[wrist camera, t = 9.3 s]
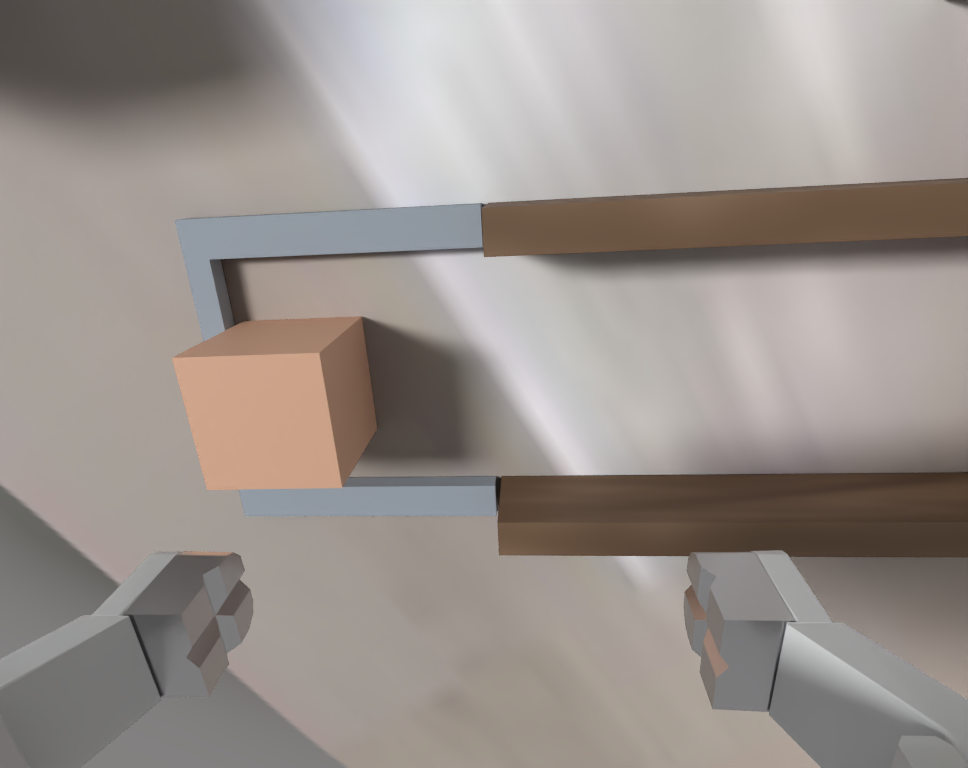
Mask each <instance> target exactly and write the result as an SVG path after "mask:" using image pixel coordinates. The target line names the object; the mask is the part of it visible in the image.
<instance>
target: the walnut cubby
mask: <svg viewBox="0 0 968 768" xmlns="http://www.w3.org/2000/svg"><path fill="white" fill-rule="evenodd" d="M481 209H482V228H483V248H484V257H496V256H519V255H542V254H565V253H588V252H611V251H634V250H658V249H681V248H704V247H727V246H750V245H773V244H796V243H819V242H842V241H865V240H888V239H911V238H935V237H958V236H968V178H959V179H940V180H920V181H901V182H882V183H863V184H843V185H824V186H805V187H786V188H766V189H747V190H728V191H709V192H689V193H670V194H651V195H632V196H612V197H593V198H574V199H555V200H535V201H516V202H497V203H488V204H486V205H485V206H483V207H482V208H481ZM498 540H499V555H562V556H690V553H691V552H751V551H773V550H782V551H783V552H785V553H787V554H788V556H790V557H968V473H849V474H727V475H605V476H502V478H501V490H500V501H499V513H498Z"/></svg>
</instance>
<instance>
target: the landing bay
mask: <svg viewBox="0 0 968 768" xmlns="http://www.w3.org/2000/svg"><path fill="white" fill-rule="evenodd" d="M481 208H482V203H477V204H458V205H439V206H420V207H400V208H381V209H362V210H343V211H323V212H304V213H285V214H266V215H246V216H227V217H208V218H189V219H180V220H175V223H176V227H177V232H178V236H179V240H180V244H181V248H182V253H183V257H184V261H185V265H186V270H187V274H188V278H189V282H190V286H191V291H192V295H193V299H194V303H195V307H196V312H197V316H198V320H199V324H200V328H201V333H202V337H203V341H206V340H208V339H210V338H212V337H214V336H216V335H218V334H220V333H222V332H224V331H225V330H227V329H229V328H231V327H233V326H235V324H234V319H233V314H232V310H231V305H230V300H229V296H228V291H227V286H226V282H225V277H224V273H223V268H222V263H221V259H233V258H256V257H278V256H300V255H323V254H345V253H367V252H389V251H412V250H434V249H456V248H479V247H483V228H482V209H481ZM239 493H240V497H241V501H242V505H243V509H244V514H245V516H497V506H498V505H497V486H496V476H484V477H362V478H348V479H347V481H346V482H345V484H344V486H343V488H313V489H239Z"/></svg>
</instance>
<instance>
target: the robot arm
mask: <svg viewBox="0 0 968 768" xmlns="http://www.w3.org/2000/svg"><path fill="white" fill-rule="evenodd" d="M244 571H245V569H244V566H243V563H242V560H241V556H240V555H238V554H236V553H234V552H195V551H184V552H178V551H159V552H156V553H153V554H150V555H149V556H148V557H147V558H146V559H145V561H144V562H143V563H142V564H141V565H140V566H139V567H138V568H137V569H136V570H135V571H134V572H133V573H132V574H131V575H130V576H129V577H128V578H127V579H126V580H125V581H124V582H123V583H122V584H121V585H120V586H119V588H118V589H117V590H116V591H115V592H114V593H113V594H112V595H111V596H110V597H109V598H108V599H107V600H106V601H105V602H104V603H103V604H102V605H101V606H100V607H99V608H98V609H97V610H96V611H95V612H94V613H93V615H84V616H81V617H79V618H77V619H76V620H74V621H72V622H70V623H68V624H66V625H64V626H62V627H60V628H59V629H57V630H55V631H53V632H51V633H49V634H47V635H45V636H44V637H41V638H39V639H38V640H36V641H34V642H32V643H30V644H28V645H26V646H24V647H22V648H21V649H19V650H17V651H15V652H13V653H11V654H9V655H7V656H5V657H3V658H2V659H0V768H81V767H82V766H83V765H85V764H86V763H87V762H88V761H90V760H91V759H92V758H93V757H94V756H96V755H97V754H98V753H99V752H100V751H102V750H103V749H104V748H105V747H106V746H107V745H109V744H110V743H111V742H112V741H113V740H115V739H116V738H117V737H118V736H119V735H121V734H122V733H123V732H124V731H125V730H127V729H128V728H129V727H130V726H131V725H133V724H134V723H135V722H136V721H137V720H138V719H140V718H141V717H142V716H143V715H145V714H146V713H147V712H148V711H149V710H150V709H152V708H153V707H154V706H155V705H157V704H158V703H159V702H160V701H161V698H180V697H210V695H211V694H212V692H213V690H214V689H215V687H216V685H217V683H218V682H219V680H220V678H221V677H222V675H223V673H224V672H225V670H226V668H227V667H228V665H229V661H228V656H227V653H228V652H230V651H231V650H232V649H234V648H235V647H237V646H238V645H239V644H241V643H242V641H243V639H244V638H245V636H246V634H247V632H248V630H249V628H250V624H251V620H252V616H253V598H252V594H251V590H250V589H249V588H248V587H247V586H246V585H245V584H244V583H243V582H242V581H241V580H240V578H241V576H242V575H243V573H244ZM687 573H688V576H689V578H690V581H691V583H692V585H691V586H690V587H689V588H688V589H687V590H686V591H685V596H684V616H685V626H686V630H687V635H688V638H689V641H690V645H691V648H692V650H693V651H695V652H696V653H697V654H698V655H699V656H701V666H700V674H701V677H702V680H703V683H704V686H705V689H706V691H707V694H708V697H709V700H710V703H711V706H712V709H722V710H742V711H761V712H769V715H770V716H771V717H772V718H773V719H774V720H775V721H776V722H777V723H778V724H779V725H780V726H781V727H782V728H783V729H784V730H785V731H786V732H787V733H788V734H789V735H790V736H791V737H792V738H793V739H794V740H795V741H796V742H797V743H798V744H799V745H800V746H801V747H802V748H803V749H804V750H805V751H806V753H807V754H808V755H809V756H810V757H811V758H812V759H813V760H814V761H815V762H816V763H817V764H818V765H819V766H820V767H821V768H968V699H966V698H964V697H963V696H961V695H960V694H958V693H956V692H955V691H953V690H951V689H950V688H948V687H947V686H945V685H943V684H942V683H940V682H938V681H937V680H935V679H934V678H932V677H930V676H929V675H927V674H926V673H924V672H922V671H921V670H919V669H917V668H916V667H914V666H913V665H911V664H909V663H908V662H906V661H905V660H903V659H901V658H900V657H898V656H896V655H895V654H893V653H892V652H890V651H888V650H887V649H885V648H884V647H882V646H880V645H879V644H877V643H875V642H874V641H872V640H871V639H869V638H867V637H866V636H864V635H863V634H861V633H859V632H858V631H856V630H854V629H853V628H851V627H850V626H848V625H846V624H845V623H834V622H833V621H832V619H831V618H830V616H829V615H828V613H827V612H826V610H825V609H824V607H823V606H822V604H821V603H820V601H819V600H818V599H817V597H816V596H815V594H814V593H813V591H812V590H811V588H810V587H809V585H808V584H807V582H806V581H805V579H804V578H803V576H802V575H801V573H800V572H799V570H798V569H797V568H796V566H795V565H794V563H793V562H792V560H791V559H790V557H789V556H788V554H787V553H785V552H783V551H782V550H773V551H751V552H691V553H690V556H689V558H688V565H687Z"/></svg>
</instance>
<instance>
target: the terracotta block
mask: <svg viewBox="0 0 968 768" xmlns="http://www.w3.org/2000/svg"><path fill="white" fill-rule="evenodd" d="M172 360H173V364H174V367H175V371H176V375H177V379H178V382H179V386H180V390H181V394H182V397H183V401H184V405H185V408H186V412H187V416H188V420H189V423H190V427H191V431H192V435H193V438H194V442H195V446H196V449H197V453H198V457H199V461H200V464H201V468H202V472H203V476H204V479H205V483H206V487H207V490H234V489H313V488H343V486H344V484H345V482H346V481H347V479H348V477H349V476H350V474H351V472H352V471H353V469H354V467H355V466H356V464H357V462H358V460H359V459H360V457H361V455H362V454H363V452H364V450H365V449H366V447H367V445H368V444H369V442H370V440H371V438H372V437H373V435H374V433H375V432H376V430H377V423H376V415H375V408H374V401H373V394H372V386H371V379H370V372H369V364H368V357H367V350H366V343H365V335H364V328H363V321H362V316H359V317H334V318H309V319H285V320H260V321H243V322H241V323H239V324H237V325H235V326H233V327H231V328H229V329H227V330H225V331H224V332H222V333H220V334H218V335H216V336H214V337H212V338H210V339H208V340H206V341H204V342H202V343H200V344H198V345H196V346H194V347H192V348H190V349H188V350H186V351H185V352H183V353H181V354H179V355H177V356H175V357H173V358H172Z"/></svg>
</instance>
